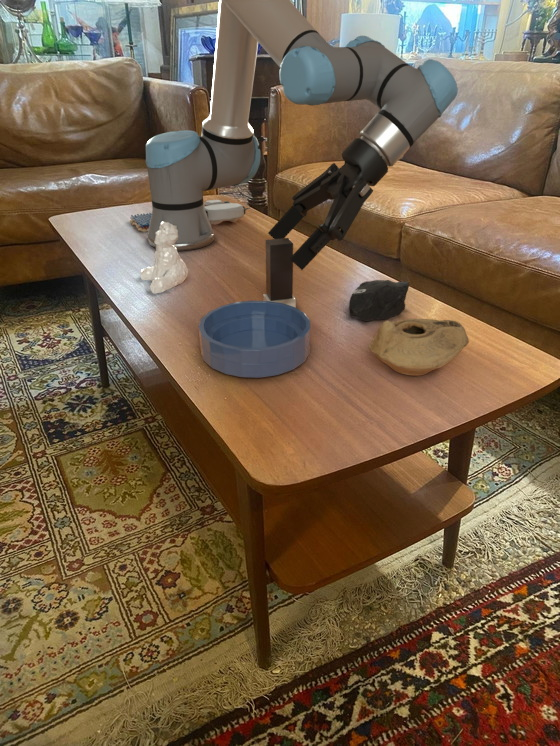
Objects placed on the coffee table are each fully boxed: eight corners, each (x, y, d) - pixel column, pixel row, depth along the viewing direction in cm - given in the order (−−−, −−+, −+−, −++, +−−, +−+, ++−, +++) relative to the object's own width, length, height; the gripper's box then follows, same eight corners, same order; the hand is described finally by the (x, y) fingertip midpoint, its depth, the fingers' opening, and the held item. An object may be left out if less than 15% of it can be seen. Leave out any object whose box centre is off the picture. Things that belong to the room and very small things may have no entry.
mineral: (399, 330, 90) (403, 297, 87) (345, 323, 92) (347, 291, 89) (406, 306, 98) (410, 275, 95) (357, 300, 100) (359, 270, 97)
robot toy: (189, 218, 148) (207, 229, 136) (187, 201, 146) (205, 210, 134) (231, 213, 153) (252, 223, 141) (230, 196, 151) (251, 205, 139)
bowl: (194, 335, 88) (191, 307, 86) (291, 322, 92) (291, 295, 90) (211, 388, 75) (209, 357, 72) (324, 371, 79) (325, 341, 76)
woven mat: (167, 217, 146) (166, 209, 145) (180, 227, 138) (180, 219, 137) (128, 222, 142) (127, 214, 141) (140, 233, 134) (139, 225, 133)
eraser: (268, 312, 96) (267, 246, 89) (263, 304, 99) (262, 239, 92) (295, 309, 97) (296, 243, 91) (289, 301, 100) (290, 236, 93)
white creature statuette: (138, 278, 109) (130, 218, 103) (179, 270, 113) (174, 212, 106) (153, 295, 102) (145, 231, 96) (196, 286, 106) (191, 225, 99)
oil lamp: (480, 366, 80) (491, 317, 76) (405, 397, 73) (412, 344, 69) (426, 336, 88) (433, 290, 84) (353, 362, 81) (357, 313, 77)
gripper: (423, 186, 80) (322, 291, 84) (357, 155, 100) (279, 241, 105) (394, 149, 76) (290, 262, 80) (332, 124, 96) (251, 216, 101)
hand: (283, 250), depth 93 cm, fingers open, 13 cm apart
